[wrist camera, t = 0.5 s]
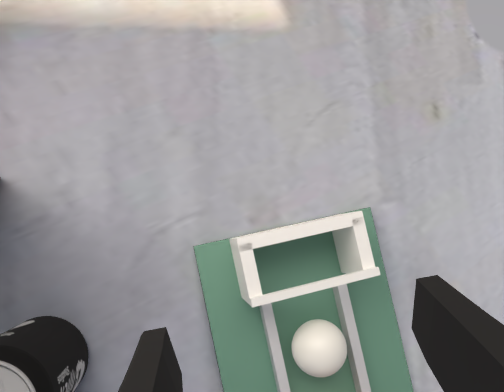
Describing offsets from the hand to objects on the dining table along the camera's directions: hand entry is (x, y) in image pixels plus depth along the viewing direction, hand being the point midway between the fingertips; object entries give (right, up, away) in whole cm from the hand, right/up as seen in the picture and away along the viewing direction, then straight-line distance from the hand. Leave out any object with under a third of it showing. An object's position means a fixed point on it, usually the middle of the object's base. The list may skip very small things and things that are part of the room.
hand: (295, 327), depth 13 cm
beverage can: (-17, -9, +22) cm, 30 cm away
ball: (+4, -8, +23) cm, 24 cm away
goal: (+2, -1, +26) cm, 26 cm away
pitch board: (+4, -10, +26) cm, 28 cm away
